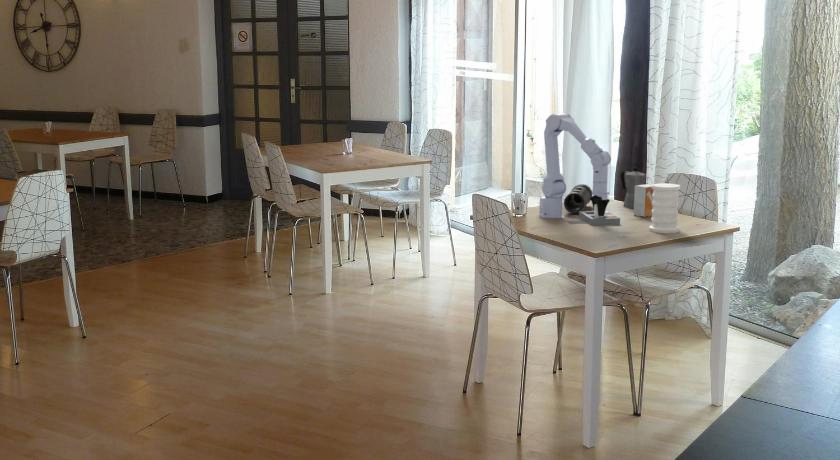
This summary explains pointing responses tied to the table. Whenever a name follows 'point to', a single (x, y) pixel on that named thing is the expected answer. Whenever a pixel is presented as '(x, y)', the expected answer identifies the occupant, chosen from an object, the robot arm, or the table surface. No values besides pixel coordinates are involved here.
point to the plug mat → (577, 222)
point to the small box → (643, 200)
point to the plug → (596, 212)
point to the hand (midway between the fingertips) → (599, 214)
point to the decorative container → (665, 208)
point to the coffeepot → (631, 185)
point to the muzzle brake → (578, 198)
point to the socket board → (607, 220)
